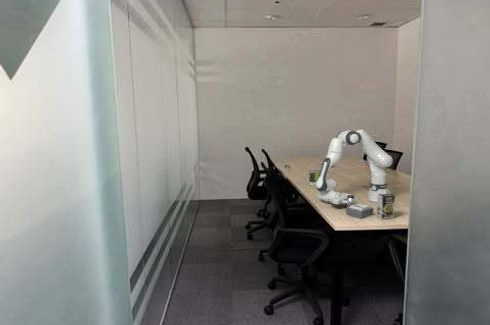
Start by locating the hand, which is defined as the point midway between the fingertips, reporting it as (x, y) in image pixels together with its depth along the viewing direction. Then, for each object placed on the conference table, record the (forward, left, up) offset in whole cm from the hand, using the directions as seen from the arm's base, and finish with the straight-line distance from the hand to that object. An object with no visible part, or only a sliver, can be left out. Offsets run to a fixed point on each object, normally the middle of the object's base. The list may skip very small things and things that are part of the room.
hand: (351, 201), depth 245 cm
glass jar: (0, -1, -6) cm, 6 cm away
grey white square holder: (+6, +11, -6) cm, 14 cm away
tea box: (-49, -75, -7) cm, 90 cm away
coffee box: (-1, +26, -7) cm, 27 cm away
